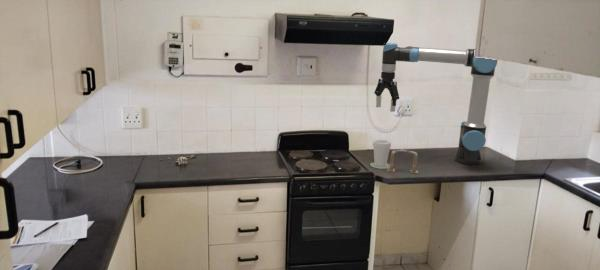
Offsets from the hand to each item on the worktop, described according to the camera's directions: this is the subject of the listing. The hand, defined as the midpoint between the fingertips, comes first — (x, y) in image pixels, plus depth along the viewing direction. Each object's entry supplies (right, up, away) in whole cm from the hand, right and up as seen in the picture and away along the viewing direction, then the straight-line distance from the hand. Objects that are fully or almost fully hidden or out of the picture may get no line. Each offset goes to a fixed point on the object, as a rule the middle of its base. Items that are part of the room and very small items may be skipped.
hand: (385, 109), depth 276 cm
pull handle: (+6, -33, -15) cm, 37 cm away
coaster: (-4, -31, -8) cm, 33 cm away
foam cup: (-4, -31, -8) cm, 32 cm away
